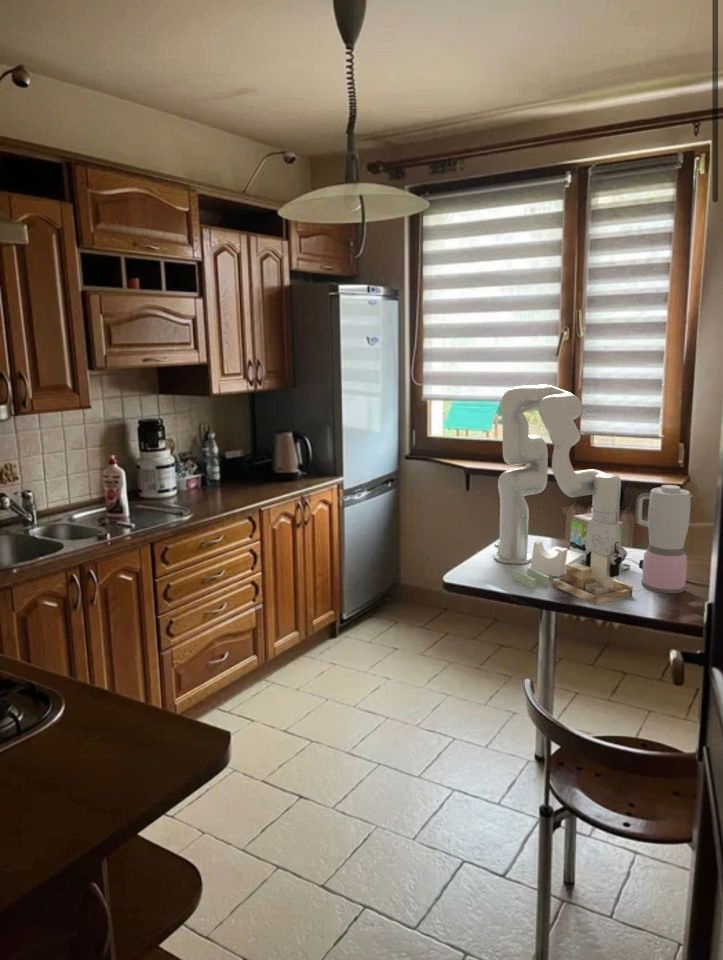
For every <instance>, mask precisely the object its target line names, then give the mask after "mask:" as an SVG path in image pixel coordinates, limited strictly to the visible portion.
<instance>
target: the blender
mask: <svg viewBox="0 0 723 960" xmlns="http://www.w3.org/2000/svg"><path fill="white" fill-rule="evenodd" d="M693 496H694V495H693V494H692V493H691V492H690V491H689V490H687V489H683V488H681V486H678V485H677V484H676V485H675V484H674V485H673V484H662V485H661V486H660V487H655V488H652V489H651V490H650V493H647V492H644V493H641V494H639V495H638V496H637V498H636V505H635V507H636V508H635V522H636V523H637V525H639V526H642V527H645V528H648V529H647V531H648V540H649V541H648V542H649V543H648V544H649V545H648V546H647V549H646V551H645V552H644V554H643V559H641V560H639V563H638V568H639V569H641V570H642V574H641V575H642V578H641V579H642V580H641V586H642V587H643V588H645V589H647V590H650V591H653V592H657V593H663V594H680V593H682V592H685V591H686V589H687V588H686V587H687V586H686V585H687V583H686V581H687V580H686V579H687V573H688V572H687V569H688V559H687V554H686V551H685V542H686V539H687V535H688V531H689V525H690V517H691V499H692V498H691V497H693ZM644 500H649V501H648V508H647V509H648V511H647V512H648V513H647V520H644V519H643V505H644V504H643V503H644Z"/></svg>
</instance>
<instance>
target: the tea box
mask: <svg viewBox="0 0 723 960" xmlns="http://www.w3.org/2000/svg"><path fill="white" fill-rule="evenodd" d="M590 518H592V513H591V512H587V513H583V514H577V515H571V520H570V523H571V524H570V539H569V540H570V541H569V550H571V551H574V552H577V553H581V554H583V558H582V562H586V554H585V550H584V549H583V544H582V541H581V538H583V537H586V532H587V527H588V523H589V520H590ZM618 522H619V523H620V531H621V546H622V547H623V537H624V522H623V521H618ZM619 555H620V554H619ZM615 559H616V558H615Z"/></svg>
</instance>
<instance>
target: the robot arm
mask: <svg viewBox="0 0 723 960" xmlns="http://www.w3.org/2000/svg"><path fill="white" fill-rule="evenodd" d="M582 410H583V407H582V403H581V400H580V398H578V397H577V395H575V394H573V393H571V392H569V391H567V390H564V389H561V388H558V387H556V386H553V385H549V384H537V385H536V384H535V385H534V384H531V385H530V384H529V385H519V386H514V387H512V388H509V389H508V390H507V391H505V393H504V394H503V396H502V398H501V400H500V413H501V415H500V416H501V419H502V457H503V458H502V459H503V461H504V462H505V463H506V464H507V465H509V466H510V465H511V466H519V465H525V467H519V468H518V467H517V468H510V469H508V470H505V471H503V472H502V473H501V474H500V475H499V477H498V480H497V488H498V494H499V501H500V506H499V507H500V508H499V541H498V542H497V543H494V545H493V546H494V548H496V549H497V552H495V553H494V555H493V556H494V560H496V561H497V562H498V563H503V564H509V565H523V564H528V563H531V562H532V555H531V554H530V553H528V548H529V547H528V546H529V545H528V543H529V542H528V541H529V520H530V519H529V518H530V517H529V516H530V515H529V513H530V512H529V506H528V505H529V504H528V503H527V501H526V499H525V496H531V495H537V494H540V493H542V492H543V491H544V490H545V489H546V487H547V484H548V467H549V466H548V464H549V463H548V458H549V455H548V453H549V452H548V446H547V442H546V441H545V440H544V438H542V437H541V436H539V435H537V434H529V431H530V430H529V427H530V426H529V422H528V421H529V420H528V418H527V416H526V415H525V414H524V413H527V412H530V413H531V412H538V414H539V416H540V418H541V421H542V423H543V425H544V427H545V429H546V432H547V434H548V435H549V436H548V437H549V438H550V440H551V443H552V444H553V452H552V456H551V470H552V473H553V476H554V478H555V480H556V483H557V485H558V487H559V489H560V490H561V491H562V492H563V494H564V495H566V496H568V497H569V498H577V497H583V496H584V497H585V496H590V495H592V503H591V504H592V506H591V509H590V513H592V518H590V520H589V523H588V527H587V532H586V537H583V538H581V541H582V544H583V549H584V550H585V554H586V561H585V566H588V567H590V566H591V552H593V553H596V554H599V555H601V556H604V557H609V558H610V560H611V562H612V564H610V574H609V576H610V577H614V578H615V577H619V575H620V564H622V563H623V562H624V561H625V560H626V559H625V558H627V555H628V551H626V549H625V548H624V547H623V545H622V546H621V531H620V523H619V522H620V521H619V518H620V505H621V504H620V502H621V501H620V500H621V487H622V479H621V478H620V475H616V474H613V473H606V472H604V471H601V470H598V469H594V468H592V469H591V468H590V469H583V470H582V469H581V470H576V471H575V470H574V468H573V465H572V463H571V460H570V451H571V448H572V447H573V446H575V445H576V444H577V443H578V442H579V441H580V440H581V432H580V430H579V429H578V427H577V425H576V423H575V421H574V420H576V419H578V418H579V417H580V416H581V414H582ZM618 521H619V522H618ZM613 552H614V553H613ZM619 554H620V555H619ZM613 556H615V558H616V559H614V557H613Z"/></svg>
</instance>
